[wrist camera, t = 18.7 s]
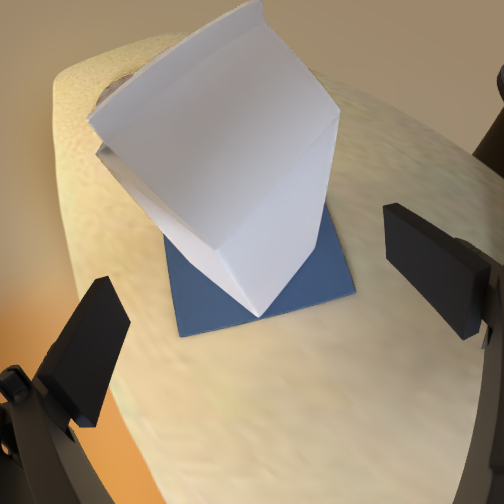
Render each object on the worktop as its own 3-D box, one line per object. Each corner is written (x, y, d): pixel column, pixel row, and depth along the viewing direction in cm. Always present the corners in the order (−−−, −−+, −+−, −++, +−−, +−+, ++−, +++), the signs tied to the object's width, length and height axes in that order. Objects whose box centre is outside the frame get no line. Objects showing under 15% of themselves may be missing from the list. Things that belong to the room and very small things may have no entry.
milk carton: (315, 247, 25) (354, 24, 7) (259, 319, 24) (172, 179, 6) (246, 200, 27) (191, -14, 9) (191, 263, 26) (44, 90, 8)
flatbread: (116, 78, 36) (113, 73, 36) (161, 76, 35) (158, 70, 34) (86, 120, 34) (83, 116, 33) (132, 121, 33) (128, 115, 32)
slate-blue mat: (317, 184, 27) (317, 182, 27) (355, 293, 24) (356, 292, 23) (163, 225, 28) (161, 223, 27) (180, 337, 24) (179, 337, 24)
